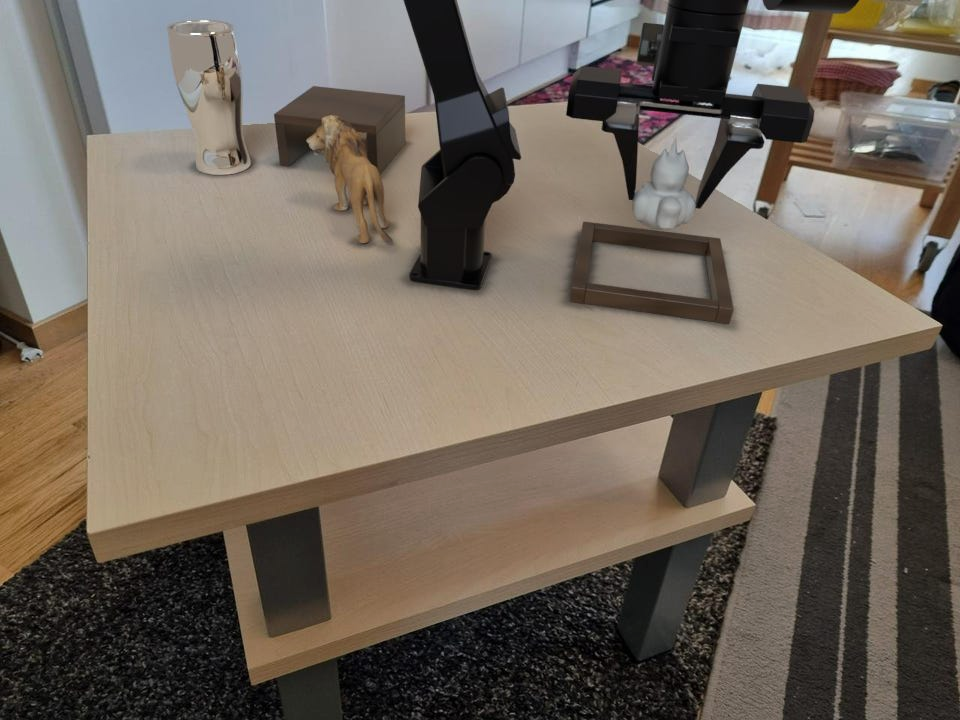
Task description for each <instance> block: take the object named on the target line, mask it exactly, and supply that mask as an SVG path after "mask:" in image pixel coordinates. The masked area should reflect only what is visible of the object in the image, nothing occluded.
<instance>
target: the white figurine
mask: <svg viewBox="0 0 960 720" xmlns="http://www.w3.org/2000/svg"><path fill="white" fill-rule="evenodd" d="M689 171H690V167H689V163H688V160H687V155H686V152H685V150H684V149H682V150H681V151H679V152H678V145H677V138H676V137H675V138H674V139H673V142H672V144H671V147H670V149H669V152H668V150H667V148H665V149H663V150H662V152H661V153H660V154H659V156H658V157H657V158H656V159H655V160H654V161H653V162H652V165H651V170H650V181H646V182H644V183H643V185H642V187H640V188H638V189H636V190H635V194H634V198H633V200H631V211H632V214H633V217H634V218H635V220H636V221H638V222H640V223H641V225H642V226H645V227H647V228H649V229H651V230H661V231H664V230H665V231H667V230H675V228H678V227H679V226H681V225H686V224H689V223H690V222H691V221H692V219H693V218H694V214H695V211H696V209H697V208H696V199H695V198H694V196H693V194H692V193H691V192H690V191H688V190H687V189H686V188H685V186H686V183H687V179H688V176H689Z"/></svg>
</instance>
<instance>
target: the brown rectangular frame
mask: <svg viewBox="0 0 960 720" xmlns="http://www.w3.org/2000/svg"><path fill="white" fill-rule="evenodd" d="M593 242H598V243H606V244H614V245H621V246H629V247H634V248H635V247H636V248H645V249H651V250H660V251H668V252H676V253H684V254H691V255H697V256H698V255H699V256H704V257H705V261H706V268H707V269H706V270H707V276H708V282H709V283H708V284H709V290H710V296H711V297H710V298H711V299H710V298H702V297H695V296H688V295H682V294H681V295H680V294H673V293H665V292H660V291H659V292H657V291H651V290H643V289H638V288H637V289H635V288H628V287H620V286H614V285H606V284H599V283H598V284H597V283H592V282H588V276H589V271H590V270H589V268H590V263H591V255H592V247H593ZM723 251H724V250H723V246H722V241H721V238H719V237H712V236H704V235H697V234H696V235H695V234H687V233H680V232H673V231H666V230H665V231H664V230H658V229H650V228H649V229H647V228H639V227H634V226H624V225H616V224H609V223H601V222H591V221H582V225H581V231H580V238H579V243H578V250H577V255H576V261H575V266H574V272H573V279H572V283H571V284H572V285H571V290H570V297H569V298H570V299H569V303H576V304H585V305H591V306H597V307H599V306H600V307H605V308H613V309H621V310H627V311H634V312H642V313H649V314H656V315H663V316H671V317H678V318H683V319H684V318H685V319H692V320H697V321H698V320H700V321H706V322H715V323H718V324H719V323H720V324H726V325H729V324H731V323H730V322H731V319H732V317H733V313H734V305H733V299H732V294H731V288H730V283H729V278H728V272H727V265H726V262H725V257H724V252H723Z"/></svg>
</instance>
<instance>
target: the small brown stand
mask: <svg viewBox="0 0 960 720" xmlns="http://www.w3.org/2000/svg"><path fill="white" fill-rule="evenodd" d="M329 115H333V116H335V115H336V116H339V117H340V118H342V119H344V120H346V122H347V123H349V124H350V125H351V127H352V128H353V129H355V131H356V133H362V134H365V138H366V150H367V159H368V160H369V161H370V163H371V164H372V165H374V166H375V167H376V168H377V169H378V172H379V174H380V175H381V174H382V172H383V171H384V170H385V169H386V167H387V166H388V165H389V164H390V162H392V160H393V159H394V157H395V156H397V155H398V152H400V150H401V149H402V148H403V147H404V145H406V141H407V140H406V95H403V94H402V95H401V94H392V93H384V92H375V91H364V90H357V89H356V90H355V89H346V88H337V87H326V86H317V85H313V86H311V87H309V88H308V89H306V90H305V91H304V92H303V93H301V94H300V95H298V96H297V97H295V98H294V99H293V100H292V101H290V102H288V103H287V104H286V105H285V106H283V107H282V108H281V109H279V110H278V111H276V112H275V113H273V118H274V127H275V134H276V144H277V153H278V160H279V165H280V166H284V167H290V166H292V164H294V163H295V162H296V161H297V160H298V159H299V158H301V156H303V155H304V154H305V153H306V152H307V151H308V150H309V149H311V148H310V146H309V144H308V143H307V141H306V140H307V139H308V138H309V137H310V136H312V135H313V134H314V133H316V131H317V129H318V128H319V127H321V126H322V118H323V117H326V116H329Z"/></svg>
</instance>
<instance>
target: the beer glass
mask: <svg viewBox="0 0 960 720" xmlns="http://www.w3.org/2000/svg"><path fill="white" fill-rule="evenodd" d="M166 29H167V37H168V47H169V54H170V61H171V67H172V72H173V75H174V80H175V85H176V87H177V90H178V93H179V96H180V99H181V103H182V105H183V107H184V110H185V112H186V115H187V118H188V121H189V123H190V126H191V130H192V134H193V137H194V143H195V167H196V169H197V170H198V171H199V172H200V173H203V174H206V175H212V176H225V175H227V176H228V175H234V174H238V173H241V172H244V171H246V170H247V169H249V168H250V167H251V164H252V159H251V157H250V153H249V151H248V149H247V145H246V141H245V138H244V130H243V107H244V106H243V105H244V85H243V84H244V82H243V70H242V64H241V58H240V52H239V47H238V43H237V39H236V36H235V31H234V25H233V24H232V23H229V22H227V21H221V20H215V19H214V20H212V19H191V20H182V21H176V22H173V23H171V24H168V25H167V26H166Z"/></svg>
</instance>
